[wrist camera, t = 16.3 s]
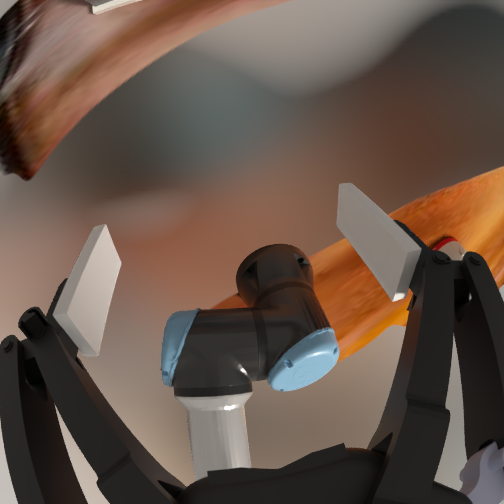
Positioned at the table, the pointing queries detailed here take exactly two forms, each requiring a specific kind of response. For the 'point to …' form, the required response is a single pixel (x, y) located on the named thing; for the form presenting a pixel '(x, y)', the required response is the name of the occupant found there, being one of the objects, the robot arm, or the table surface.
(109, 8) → the shaft stand
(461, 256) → the kitchen timer
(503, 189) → the table surface
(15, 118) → the table surface
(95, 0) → the gray slotted block
